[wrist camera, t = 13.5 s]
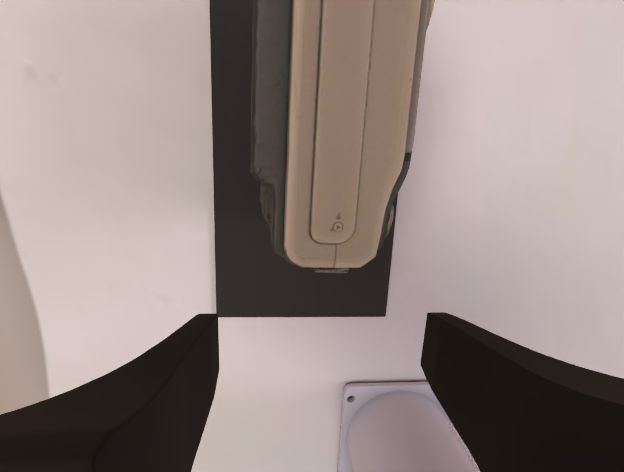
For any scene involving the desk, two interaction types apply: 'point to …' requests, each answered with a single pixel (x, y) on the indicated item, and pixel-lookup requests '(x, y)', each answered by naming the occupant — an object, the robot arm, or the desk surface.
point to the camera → (333, 122)
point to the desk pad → (248, 209)
